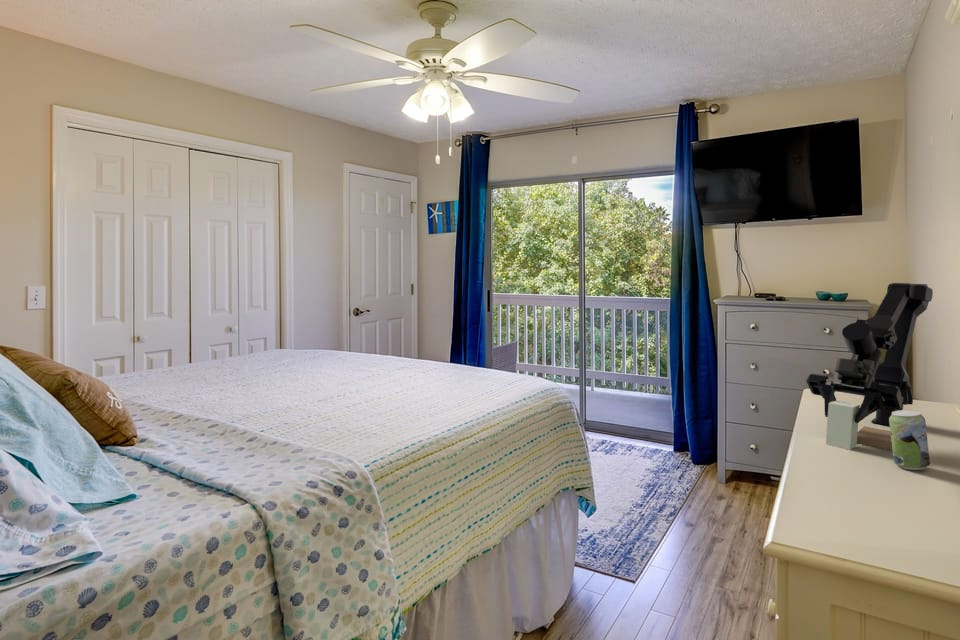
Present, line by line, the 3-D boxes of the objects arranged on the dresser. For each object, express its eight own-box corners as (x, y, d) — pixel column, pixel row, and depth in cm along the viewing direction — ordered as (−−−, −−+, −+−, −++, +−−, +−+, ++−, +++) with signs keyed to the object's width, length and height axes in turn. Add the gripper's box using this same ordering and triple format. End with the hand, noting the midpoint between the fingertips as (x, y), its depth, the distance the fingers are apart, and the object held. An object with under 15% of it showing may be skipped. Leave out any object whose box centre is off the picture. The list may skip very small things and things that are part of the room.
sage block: (832, 441, 133) (835, 400, 132) (856, 446, 129) (859, 404, 128) (825, 444, 131) (828, 403, 130) (849, 450, 127) (852, 407, 126)
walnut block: (863, 435, 139) (864, 426, 138) (913, 445, 132) (914, 435, 131) (853, 445, 132) (854, 435, 131) (905, 456, 125) (906, 445, 124)
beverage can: (936, 474, 113) (941, 416, 111) (895, 471, 114) (899, 414, 113) (918, 463, 119) (923, 408, 117) (879, 460, 120) (884, 406, 119)
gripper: (812, 341, 138) (788, 391, 132) (902, 351, 123) (880, 407, 117) (823, 368, 143) (801, 417, 138) (911, 381, 128) (891, 436, 123)
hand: (840, 419), depth 129 cm, fingers open, 6 cm apart
